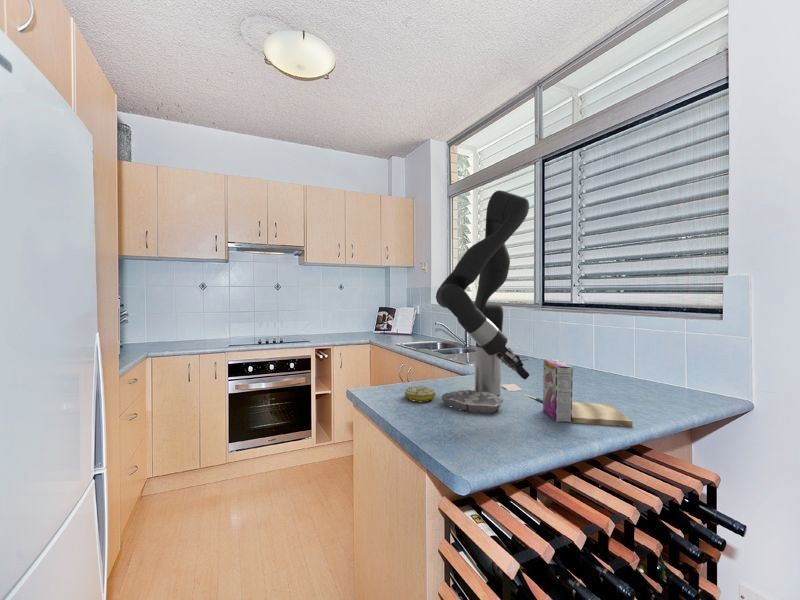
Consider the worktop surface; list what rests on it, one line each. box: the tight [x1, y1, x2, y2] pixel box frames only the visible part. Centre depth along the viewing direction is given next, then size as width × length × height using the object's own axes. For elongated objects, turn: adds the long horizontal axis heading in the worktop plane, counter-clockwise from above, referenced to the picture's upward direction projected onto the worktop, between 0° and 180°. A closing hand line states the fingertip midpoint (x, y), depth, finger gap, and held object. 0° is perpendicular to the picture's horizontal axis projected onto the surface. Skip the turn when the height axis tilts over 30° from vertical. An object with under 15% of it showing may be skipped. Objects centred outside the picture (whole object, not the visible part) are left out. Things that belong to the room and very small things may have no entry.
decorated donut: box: [404, 385, 436, 401], centre depth 129 cm, size 10×11×4 cm
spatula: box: [501, 383, 543, 404], centre depth 133 cm, size 6×29×2 cm, turn 17°
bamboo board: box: [571, 401, 634, 427], centre depth 114 cm, size 16×16×2 cm
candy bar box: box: [542, 359, 574, 423], centre depth 112 cm, size 11×5×16 cm, turn 178°
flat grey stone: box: [441, 389, 504, 414], centre depth 122 cm, size 20×17×3 cm
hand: (526, 376), depth 111 cm, fingers closed
